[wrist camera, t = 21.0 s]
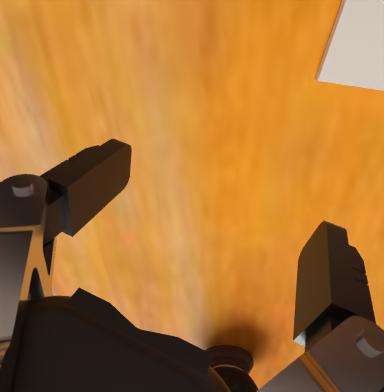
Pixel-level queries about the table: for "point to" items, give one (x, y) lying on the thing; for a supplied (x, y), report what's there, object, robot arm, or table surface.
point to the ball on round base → (233, 367)
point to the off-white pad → (356, 46)
